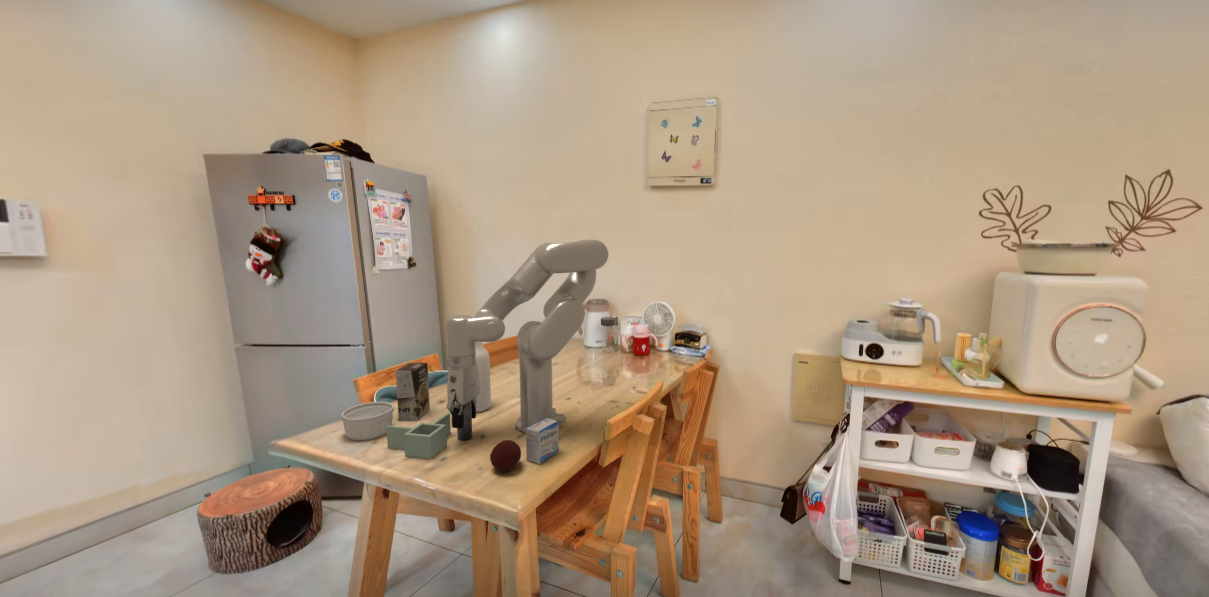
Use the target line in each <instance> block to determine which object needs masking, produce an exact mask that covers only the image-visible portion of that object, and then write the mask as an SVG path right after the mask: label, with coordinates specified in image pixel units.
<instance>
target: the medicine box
mask: <svg viewBox="0 0 1209 597" xmlns="http://www.w3.org/2000/svg"><path fill="white" fill-rule="evenodd" d="M559 444H560V442H559V422H558V421H556V420H552V419H548V418H545V419H543V420H541V421H539V422H537V423H536V424H534V425H532V426H530V427H528V428H526V433H525V452H526V455H525V456H526V460H527V461H529V462H531V461H532V463H534V462H535V464H537V463H538V465H541V464H543V463H544V462H546V461H547V460H548V458H549V457H550V458H552V457H553V456H555V455H556V454H558V453H559ZM557 452H558V453H557ZM552 455H553V456H552ZM550 458H549V459H550ZM546 459H547V460H546ZM545 460H546V461H545ZM543 461H544V462H543ZM542 462H543V463H542ZM540 463H541V464H540Z"/></svg>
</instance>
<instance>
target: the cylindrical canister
mask: <svg viewBox="0 0 1209 597" xmlns="http://www.w3.org/2000/svg"><path fill="white" fill-rule="evenodd" d="M455 403H459V402H458V401H457V400H456V402H455ZM455 407H457V409H459V405H455ZM462 414H463V418H464V427H463V428H462V429H461V428H456V430H457V431H456V433H457V440H458V441H459V440H460V442H468V441H469V440H471V439H473V418H472V411H471V401H470V402H468V403H467V404H465V405H463V408H462Z"/></svg>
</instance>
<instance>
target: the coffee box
mask: <svg viewBox="0 0 1209 597" xmlns="http://www.w3.org/2000/svg"><path fill="white" fill-rule="evenodd" d="M395 376H396V377H395V378H396V379H395V380H396V382H395V383H396V398H397V401H396V402H397V415H398V417H397V418H398V421H416V422H417V421H419V420H420V419H421V418H422V417H423V416H424V415H425V413H428V412H429V411H430V410H431V406H430V390H429V389H430V387H429V386H430V385H429V366H428V362H409V363H407V364H405V365H403V366H402V367H399V368H398V369H396V370H395Z"/></svg>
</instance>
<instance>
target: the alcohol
mask: <svg viewBox="0 0 1209 597" xmlns="http://www.w3.org/2000/svg"><path fill="white" fill-rule="evenodd" d="M475 343H476V363H477V368H478V374H479V384H480V393H479V395H478V396H476V404H474V405H476V412H479V413H483V412H485V410H486V411H488V410H489V409H490V407H491V406H492V393H491V388H492V387H491V365H490V364H491V363H490V362H491V361H490V353H489V351H488V350H487V349H486V348H485V347H484V344H483V342H477V341H475ZM487 409H488V410H487ZM482 411H483V412H482Z"/></svg>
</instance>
